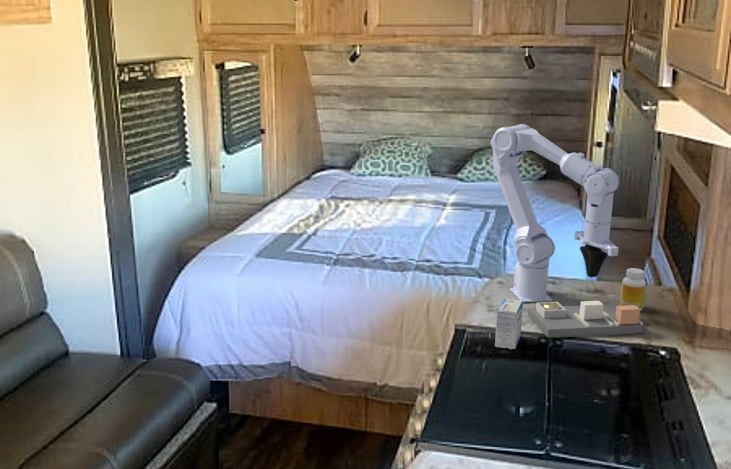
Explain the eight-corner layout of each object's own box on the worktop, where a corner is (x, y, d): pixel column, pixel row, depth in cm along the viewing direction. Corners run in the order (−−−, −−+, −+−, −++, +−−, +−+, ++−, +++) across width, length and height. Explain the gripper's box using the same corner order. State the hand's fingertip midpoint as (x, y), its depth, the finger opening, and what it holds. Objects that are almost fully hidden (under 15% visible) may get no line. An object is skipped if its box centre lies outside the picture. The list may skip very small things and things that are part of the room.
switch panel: (527, 315, 177) (528, 300, 176) (615, 311, 180) (617, 296, 179) (547, 337, 165) (549, 322, 164) (642, 333, 168) (644, 317, 167)
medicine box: (515, 350, 158) (517, 313, 156) (494, 347, 160) (496, 310, 157) (520, 336, 166) (523, 300, 163) (500, 333, 167) (503, 297, 165)
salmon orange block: (614, 320, 169) (616, 305, 169) (632, 319, 170) (634, 305, 169) (619, 324, 167) (621, 310, 166) (638, 323, 168) (640, 309, 167)
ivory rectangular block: (579, 315, 172) (580, 301, 171) (597, 314, 173) (598, 300, 172) (583, 319, 170) (585, 305, 169) (602, 318, 170) (603, 304, 169)
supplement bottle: (644, 312, 180) (648, 275, 177) (621, 310, 181) (625, 273, 178) (640, 304, 185) (645, 267, 182) (618, 303, 186) (622, 266, 183)
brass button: (540, 308, 175) (541, 302, 174) (555, 308, 175) (555, 302, 175) (546, 314, 171) (546, 308, 171) (561, 313, 172) (561, 307, 171)
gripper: (565, 214, 178) (561, 268, 182) (601, 230, 165) (595, 287, 169) (590, 212, 181) (585, 265, 184) (628, 228, 167) (622, 284, 171)
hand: (592, 276), depth 177 cm, fingers closed
